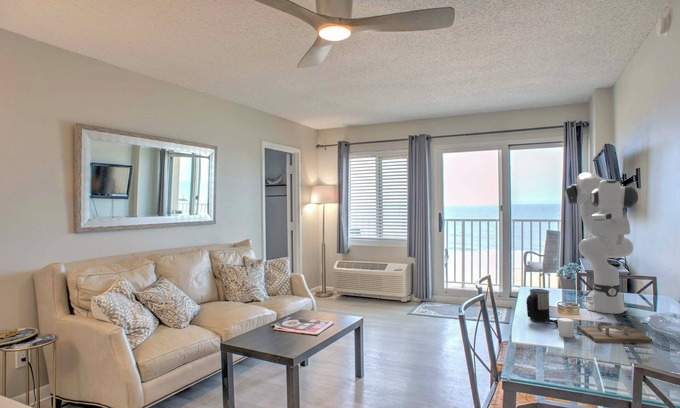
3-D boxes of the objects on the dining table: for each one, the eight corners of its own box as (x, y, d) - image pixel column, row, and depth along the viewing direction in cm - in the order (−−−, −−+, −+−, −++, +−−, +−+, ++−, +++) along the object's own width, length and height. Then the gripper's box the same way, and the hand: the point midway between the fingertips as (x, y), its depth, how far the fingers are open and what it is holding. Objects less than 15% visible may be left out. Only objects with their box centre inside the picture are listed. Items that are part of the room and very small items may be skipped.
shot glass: (577, 337, 181) (576, 321, 181) (560, 337, 182) (559, 321, 182) (571, 332, 187) (571, 317, 187) (555, 332, 189) (554, 317, 189)
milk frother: (532, 316, 215) (532, 287, 215) (567, 321, 205) (566, 291, 205) (524, 323, 204) (523, 293, 204) (560, 328, 194) (559, 296, 194)
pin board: (577, 329, 192) (576, 319, 192) (628, 329, 189) (628, 319, 189) (594, 342, 175) (594, 331, 175) (652, 342, 171) (652, 331, 171)
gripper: (620, 214, 195) (621, 243, 195) (588, 215, 188) (589, 246, 188) (633, 214, 189) (634, 244, 189) (601, 215, 182) (603, 247, 182)
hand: (612, 245), depth 188 cm, fingers open, 8 cm apart
